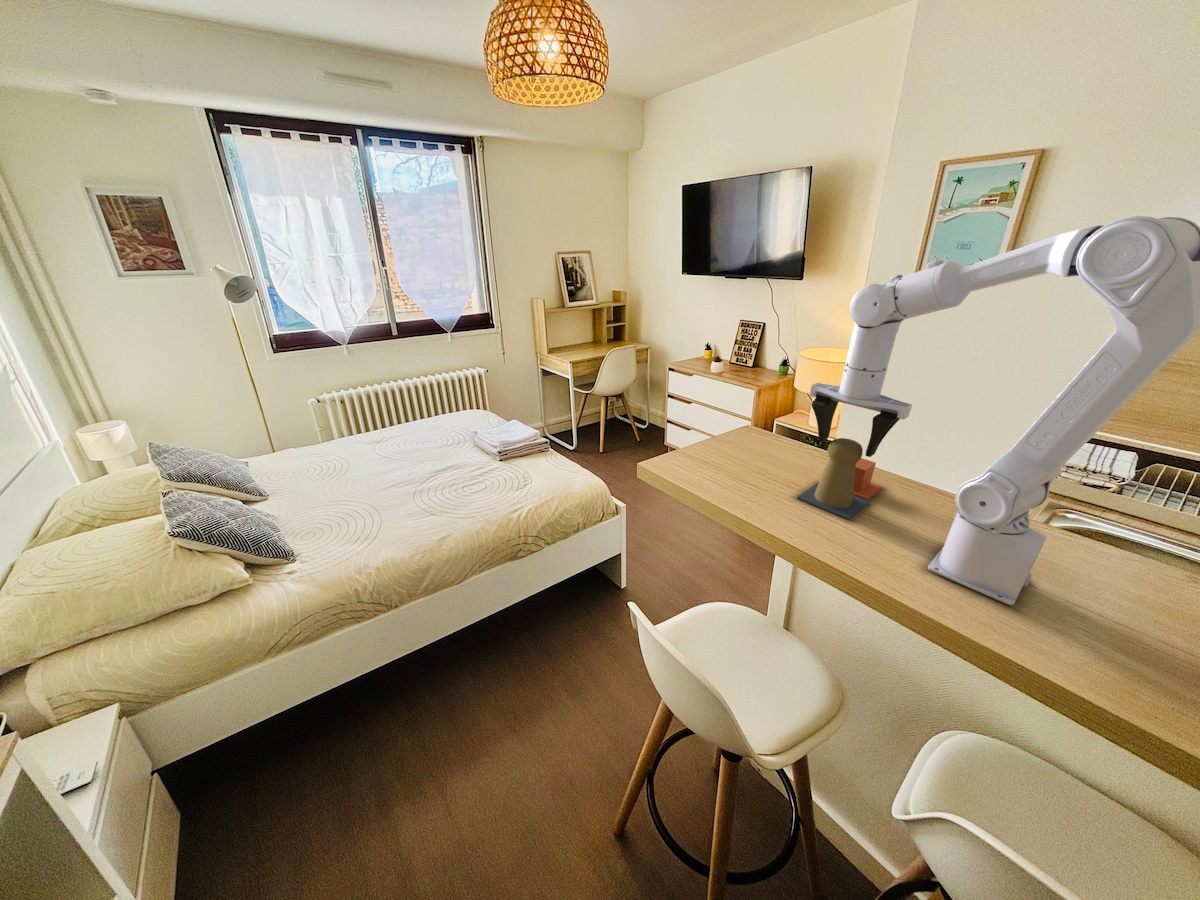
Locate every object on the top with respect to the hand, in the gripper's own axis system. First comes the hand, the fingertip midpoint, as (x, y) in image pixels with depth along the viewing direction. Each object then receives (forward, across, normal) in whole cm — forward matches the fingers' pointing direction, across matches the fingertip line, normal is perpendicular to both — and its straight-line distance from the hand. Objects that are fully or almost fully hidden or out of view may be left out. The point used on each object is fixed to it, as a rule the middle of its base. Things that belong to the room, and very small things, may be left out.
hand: (845, 447), depth 77 cm
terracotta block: (+10, 0, -8) cm, 13 cm away
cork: (+10, 0, 0) cm, 10 cm away
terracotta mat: (+10, 0, -8) cm, 13 cm away
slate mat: (+10, 0, 0) cm, 10 cm away
